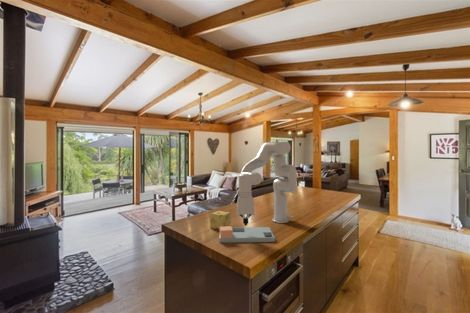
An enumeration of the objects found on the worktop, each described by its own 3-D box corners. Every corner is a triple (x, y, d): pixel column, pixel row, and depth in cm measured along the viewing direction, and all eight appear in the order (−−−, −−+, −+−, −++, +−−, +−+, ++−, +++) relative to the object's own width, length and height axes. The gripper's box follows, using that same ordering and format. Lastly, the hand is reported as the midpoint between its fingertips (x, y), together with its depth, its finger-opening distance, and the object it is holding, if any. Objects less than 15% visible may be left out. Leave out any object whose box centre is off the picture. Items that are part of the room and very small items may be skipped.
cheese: (222, 230, 152) (222, 215, 152) (209, 227, 158) (209, 213, 158) (230, 226, 161) (230, 212, 161) (218, 223, 167) (218, 210, 167)
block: (231, 233, 140) (231, 226, 140) (232, 237, 133) (232, 230, 133) (219, 234, 139) (219, 226, 139) (220, 238, 132) (220, 230, 132)
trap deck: (268, 230, 152) (268, 227, 152) (274, 241, 134) (274, 237, 134) (219, 231, 151) (219, 227, 150) (219, 242, 133) (219, 238, 133)
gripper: (232, 196, 135) (233, 227, 136) (258, 195, 136) (259, 226, 137) (232, 193, 142) (233, 223, 143) (256, 192, 143) (257, 222, 144)
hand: (245, 224), depth 140 cm, fingers closed
